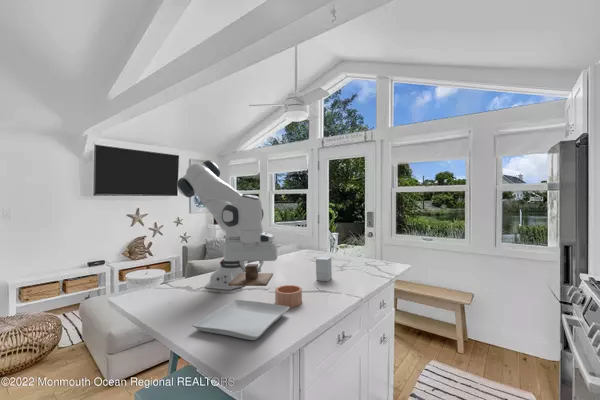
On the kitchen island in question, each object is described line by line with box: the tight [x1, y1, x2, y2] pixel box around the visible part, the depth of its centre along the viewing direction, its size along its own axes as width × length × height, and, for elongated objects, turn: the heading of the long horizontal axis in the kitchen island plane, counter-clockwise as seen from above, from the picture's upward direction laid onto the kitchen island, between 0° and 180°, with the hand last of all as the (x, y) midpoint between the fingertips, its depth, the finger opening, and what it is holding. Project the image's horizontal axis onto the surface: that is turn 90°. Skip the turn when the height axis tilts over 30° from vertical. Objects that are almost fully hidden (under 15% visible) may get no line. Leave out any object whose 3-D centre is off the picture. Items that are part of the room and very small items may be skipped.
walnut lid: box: [229, 263, 274, 287], centre depth 110 cm, size 14×14×6 cm
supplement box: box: [315, 256, 333, 282], centre depth 166 cm, size 7×7×13 cm
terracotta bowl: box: [274, 284, 303, 308], centre depth 131 cm, size 12×12×6 cm
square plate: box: [192, 299, 291, 341], centre depth 110 cm, size 27×27×4 cm
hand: (251, 272), depth 110 cm, fingers closed on walnut lid, 4 cm apart
